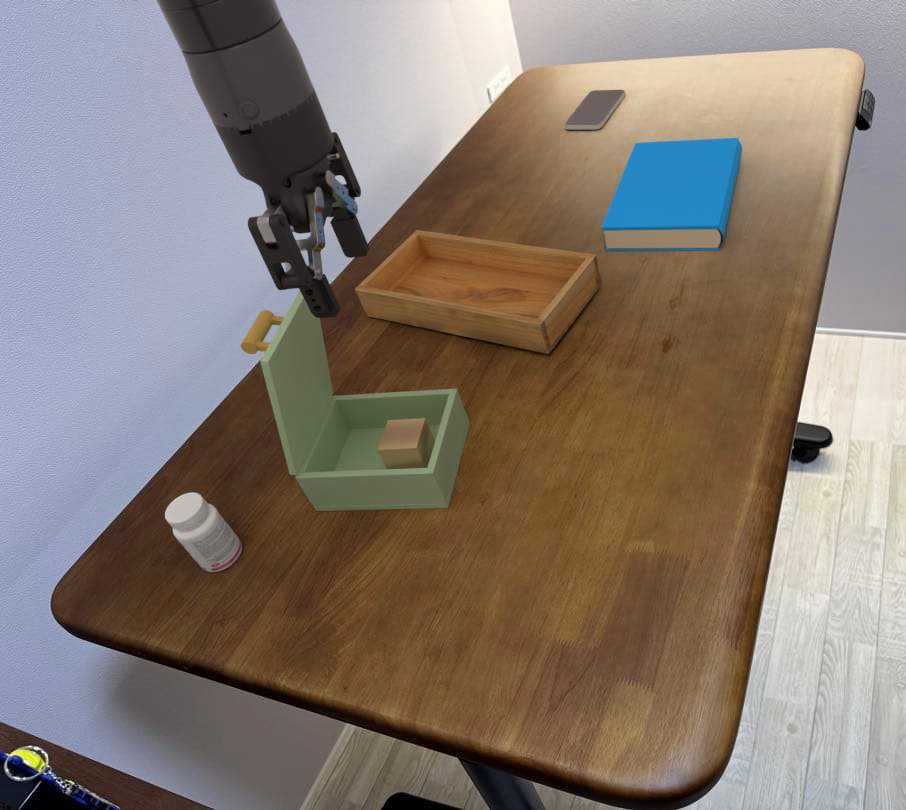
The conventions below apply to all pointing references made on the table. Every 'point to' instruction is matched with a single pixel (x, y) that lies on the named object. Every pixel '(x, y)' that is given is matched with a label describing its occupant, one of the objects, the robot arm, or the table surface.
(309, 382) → the cover
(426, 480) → the green box
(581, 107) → the smartphone
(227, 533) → the pill bottle
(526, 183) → the table surface
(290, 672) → the table surface
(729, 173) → the book
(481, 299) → the tray
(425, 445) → the block
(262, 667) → the table surface
